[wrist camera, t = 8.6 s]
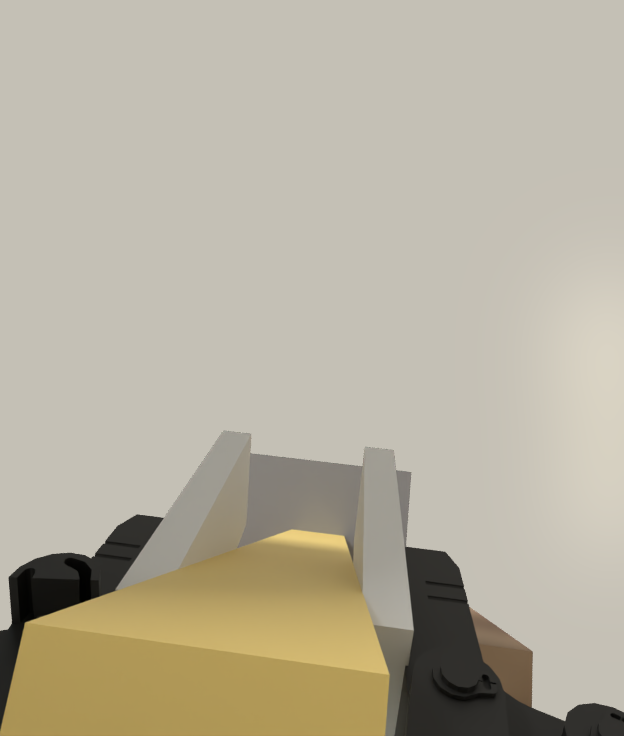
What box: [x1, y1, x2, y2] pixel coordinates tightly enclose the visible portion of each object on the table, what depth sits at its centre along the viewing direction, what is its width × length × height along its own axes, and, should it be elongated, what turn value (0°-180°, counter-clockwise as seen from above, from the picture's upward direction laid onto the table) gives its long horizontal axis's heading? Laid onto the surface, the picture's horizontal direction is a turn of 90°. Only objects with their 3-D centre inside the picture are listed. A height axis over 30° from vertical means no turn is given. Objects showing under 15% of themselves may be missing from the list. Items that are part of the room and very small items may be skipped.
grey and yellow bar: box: [0, 453, 411, 736], centre depth 22 cm, size 36×10×6 cm, turn 178°
